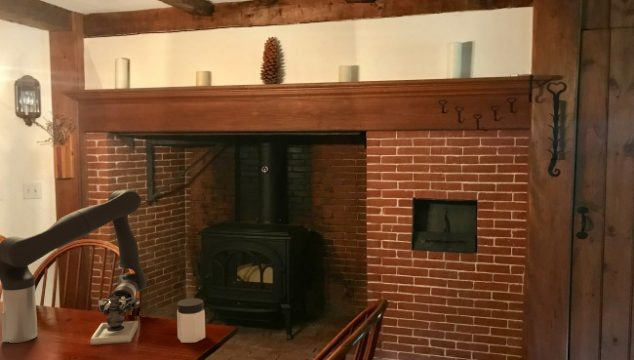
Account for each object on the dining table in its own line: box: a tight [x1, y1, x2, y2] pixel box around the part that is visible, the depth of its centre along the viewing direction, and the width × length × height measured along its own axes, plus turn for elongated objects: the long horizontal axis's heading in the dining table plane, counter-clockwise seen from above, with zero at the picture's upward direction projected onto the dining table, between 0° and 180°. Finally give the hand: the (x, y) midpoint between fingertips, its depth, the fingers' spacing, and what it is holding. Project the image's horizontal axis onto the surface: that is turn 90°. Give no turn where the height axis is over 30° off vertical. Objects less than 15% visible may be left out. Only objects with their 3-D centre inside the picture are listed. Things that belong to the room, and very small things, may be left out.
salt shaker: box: [105, 294, 126, 332], centre depth 173 cm, size 6×6×12 cm
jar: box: [176, 298, 206, 344], centre depth 170 cm, size 9×8×12 cm
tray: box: [90, 320, 139, 346], centre depth 173 cm, size 12×14×2 cm
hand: (113, 312), depth 170 cm, fingers closed on salt shaker, 3 cm apart
